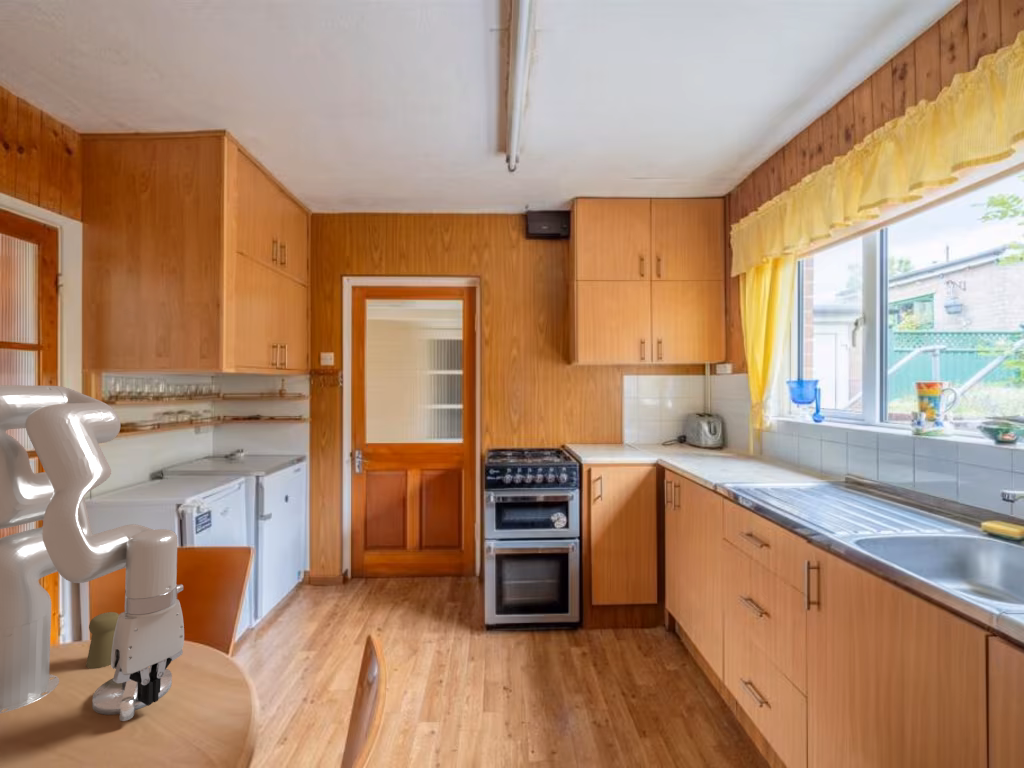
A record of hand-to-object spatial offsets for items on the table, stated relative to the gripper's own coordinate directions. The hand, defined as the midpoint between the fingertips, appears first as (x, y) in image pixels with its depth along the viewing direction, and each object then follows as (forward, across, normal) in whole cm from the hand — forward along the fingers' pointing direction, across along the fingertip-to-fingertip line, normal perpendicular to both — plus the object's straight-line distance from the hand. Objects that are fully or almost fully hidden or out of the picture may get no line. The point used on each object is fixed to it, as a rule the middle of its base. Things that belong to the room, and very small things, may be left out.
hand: (148, 700), depth 88 cm
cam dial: (+2, 0, -6) cm, 6 cm away
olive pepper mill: (+3, -4, -26) cm, 26 cm away
